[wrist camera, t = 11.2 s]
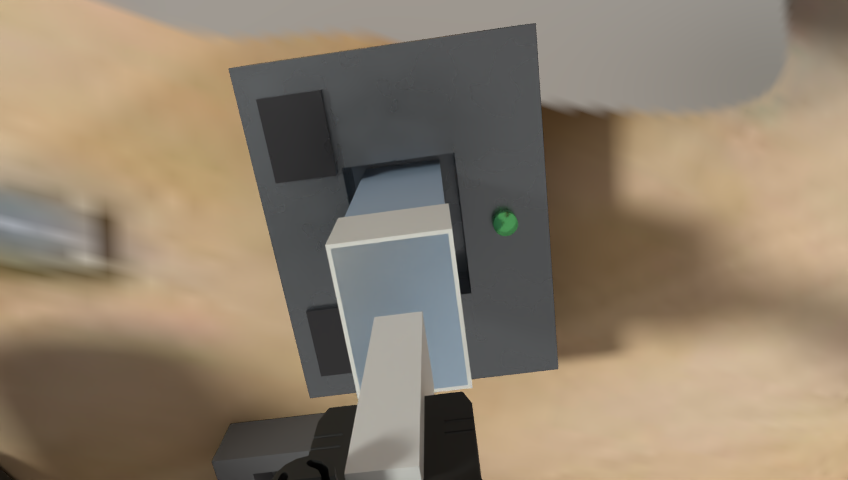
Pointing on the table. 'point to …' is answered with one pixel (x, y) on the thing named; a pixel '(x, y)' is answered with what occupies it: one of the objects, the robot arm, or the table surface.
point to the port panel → (400, 144)
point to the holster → (263, 447)
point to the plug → (400, 267)
